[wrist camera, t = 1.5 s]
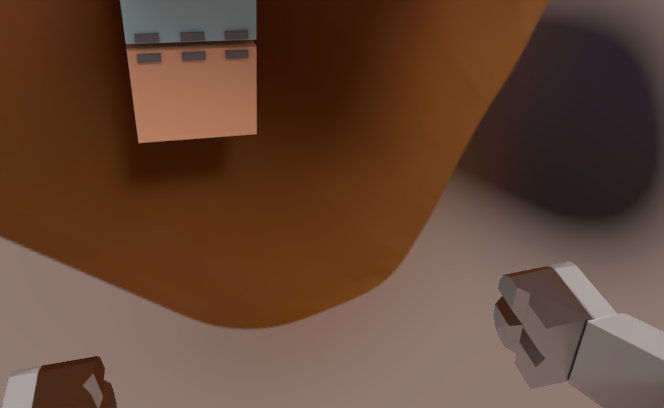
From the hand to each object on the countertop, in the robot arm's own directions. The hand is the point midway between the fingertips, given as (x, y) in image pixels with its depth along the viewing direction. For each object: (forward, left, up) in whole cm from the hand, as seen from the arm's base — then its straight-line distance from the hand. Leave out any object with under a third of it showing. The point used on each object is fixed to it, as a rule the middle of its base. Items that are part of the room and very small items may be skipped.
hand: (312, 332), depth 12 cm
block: (-1, -2, -20) cm, 21 cm away
